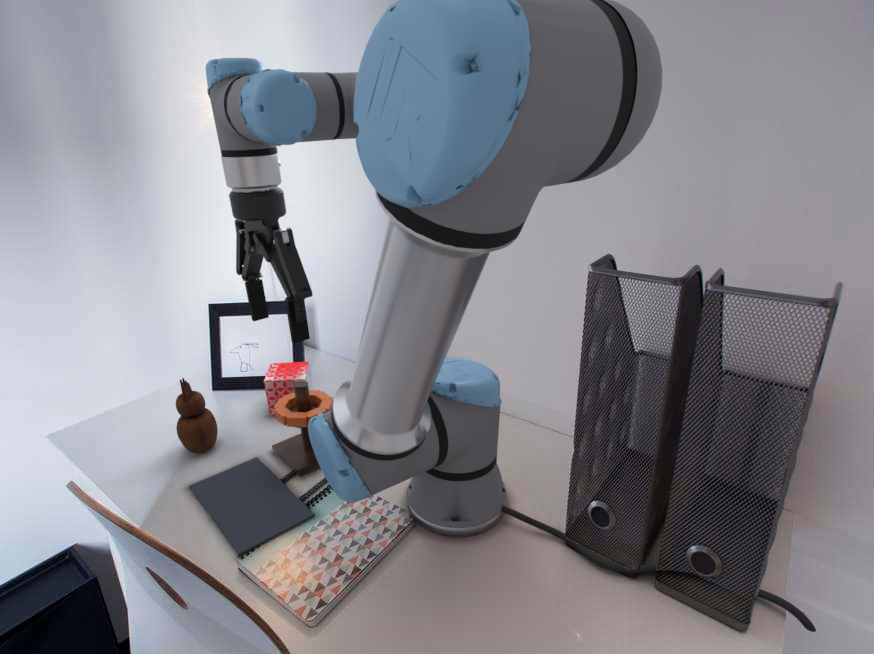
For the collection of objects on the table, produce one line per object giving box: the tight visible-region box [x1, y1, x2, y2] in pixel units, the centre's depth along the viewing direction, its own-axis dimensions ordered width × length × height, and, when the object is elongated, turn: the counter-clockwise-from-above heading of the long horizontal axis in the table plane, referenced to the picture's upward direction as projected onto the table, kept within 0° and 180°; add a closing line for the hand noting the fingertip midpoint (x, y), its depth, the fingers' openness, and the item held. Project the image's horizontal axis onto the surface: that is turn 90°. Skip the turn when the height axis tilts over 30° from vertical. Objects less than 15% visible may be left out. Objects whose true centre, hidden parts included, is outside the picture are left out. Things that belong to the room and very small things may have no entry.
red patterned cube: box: [263, 361, 314, 417], centre depth 108 cm, size 8×8×8 cm
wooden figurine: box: [175, 377, 219, 455], centre depth 93 cm, size 7×6×15 cm
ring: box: [274, 389, 334, 428], centre depth 90 cm, size 9×9×2 cm
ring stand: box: [271, 381, 321, 478], centre depth 91 cm, size 10×10×14 cm
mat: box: [188, 457, 316, 556], centre depth 83 cm, size 20×12×1 cm, turn 40°
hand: (279, 329), depth 85 cm, fingers open, 13 cm apart
